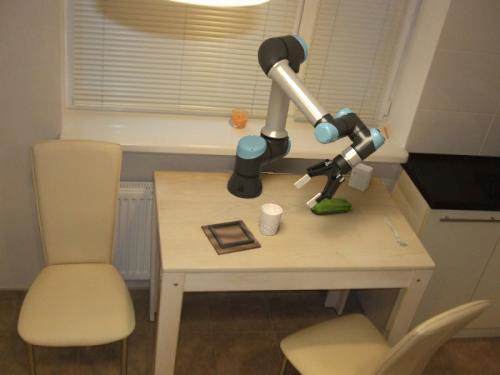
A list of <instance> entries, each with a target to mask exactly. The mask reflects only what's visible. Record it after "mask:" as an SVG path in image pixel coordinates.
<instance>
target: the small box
mask: <svg viewBox="0 0 500 375" xmlns="http://www.w3.org/2000/svg"><path fill="white" fill-rule="evenodd" d="M373 171H374V167H371V166H369V165H366V164H364V163H363V162H361V163H360V164H358V165H357V166H356V167H352V170H351V171H350V176H349V180H348V185H347V186H348V187H351V188H354V189H356V190H358V191H361V192H363V193H364V192H365V191H366V190H367V189H368V188H369V185H370V182H371V178H372V174H373Z"/></svg>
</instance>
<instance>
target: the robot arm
mask: <svg viewBox="0 0 500 375" xmlns="http://www.w3.org/2000/svg"><path fill="white" fill-rule="evenodd" d="M307 45H308V44H307V43H306V41H305V40H304V39H303V38H302V37H301V36H300V35H297V34H287V35H283V36H281V35H280V36H275V37H270V38H267V39H265V40H263V42H262V43H261V44H260V45H259V47H258V51H257V61H258V64H259V66H260V68H261V70H262V72H263V73H264V74H265V75H266V77H267V78H268V79H269V80H272V81H271V85H270V92H269V98H268V106H267V111H266V116H265V117H266V119H265V124H264V126H262V128H260V135H256V134H255V135H254V134H253V135H252V134H251V135H249V134H248V135H245V136H243V137H241V138H240V139H239V140H238V142H237V145H236V150H235V152H236V153H235V159H234V166H233V172H232V173H231V174H230V177H229V179H228V181H227V185H226V188H227V191H228V192H229V193H230V194H232V195H234V197H235V196H236V197H237V198H242V199H255V198H258V197H259V196H260V195H262V194H263V187H264V186H263V182H262V170H263V167H264V166H266V165H269V164H270V163H273V162H276V161H280V160H282V159H283V158H285V157H286V156H287V155H288V154H289V153H290V151H291V147H292V142H291V140H290V136H289V132H288V131H287V130H286V128H287V127H286V125H287V119H288V115H289V108H290V104H291V103H293V105H294V106H295V107H296V108H297V109H298V110H299V112H300V113H301V114H302V115H303V116H304V117H305V119H306V120H307V121H308V122H309V123H310V124H311V125H312V127H313V128H314V132H313V133H314V134H313V135H314V136H315V139H316V141H317V142H318V143H320V144H322V145H329V144H332V143H334V142H336V141H338V140H341V139H343V138H346V137H348V138H349V140H350V141H351V142H352V143H351V144H350V145H348V146H347V147H346V148H344V149H343V150H341V153H339V154H337V155H336V156H335V157H333V158H332V161H331V160H330V159H329V158H326V159H325V160H323V161H321V162H319V163H316V164H313V165H311V166H309V167H307V168H306V173H305V174H304V175H303V176H302V177H300V179H299V180H297V181H296V182H295V183H293V186H294V187H295V188H296V189H297V190H300V188H302V187H303V186H304V185H305V184H307V183H308V182H310V181H311V180H312V178H314V177H319V176H326V177H327V181H326V183H325V185H324V187H323V189H322V191H321V192H319V193H317V194H316V195H315V196H313V197H312V198H311V199H310V200H308V201H307V202H306V205H307V207H309V209H311V208H312V207H313V206H315V205H316V204H317V203H320V202H321V201H322V200H324V199H325V198H327V199H328V200H330V199H331V198H334V195H335V194H336V192H337V191H338V189H339V188H340V186H341V185H342V184H343V183H344V182H345V181H346V179H345V178H344V176H343V175H347V174H348V173H351V172H352V168H353V167H356V166H357V165H358V164H360V163H363V161H365V160H366V159H367V158H368V157H370V156H371V155H373V154H374V153H375V152H377V151H378V150H379V149H380V148H381V147H383V145H384V144H385V141H386V140H385V138H384V136H383V135H382V134H381V133H380V131H379V130H378V129H377V128H376V127H371V128H369V127H367V125H366V124H365V123H364V122H363V121H362V119H361V118H360V117H359V116H358V114H357V113H356V112H355V111H354V110H353V109H352V108H351V107H345V108H343V109H341V110H339V112H338V113H336V114H335V116H334V117H333V115H332V114H331V113H330V112H329V111H328V109H326V107H325V106H324V105H323V104H322V102H321V101H320V100H319V99H318V98H317V97H316V96H315V95H314V93H313V92H312V91H311V90H310V88H308V86H307V85H306V84H305V83H304V82H303V80H302V79H301V78H300V77H299V76H298V74H299V73H300V68H301V65H302V64H303V63H304V62H305V61H306V60H307V58H308V54H309V48H308V46H307Z"/></svg>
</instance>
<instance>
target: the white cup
mask: <svg viewBox="0 0 500 375" xmlns="http://www.w3.org/2000/svg"><path fill="white" fill-rule="evenodd" d="M260 212H261V213H260V219H259V228H258V229H259V232H260V233H261V234H263V236H264V235H265V236H267V237H268V236H274V235H276V234H277V232H278V227H279V226H280V222H281V218H282V214H283V208H282V207H281V206H280V205H278V204H276V203H271V202H270V203H265V204H263V205H262V206H261V210H260Z"/></svg>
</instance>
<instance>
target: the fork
mask: <svg viewBox="0 0 500 375" xmlns="http://www.w3.org/2000/svg"><path fill="white" fill-rule="evenodd" d="M383 219H384V221H385V222H386V223H387V225H388V226H389V227H390V228H391V229H392V230H393V231H394V237H400V236H399V234H398V233H397V231H396V229H395V227H393V225H392V224H391V222H390V221H389V219H388V217H386V216H384V217H383ZM395 241H396V242H398V243H399V244H400V245H407V243H406V241H404V239H402V240H400V239H399V238H397V239H396V238H395Z"/></svg>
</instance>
